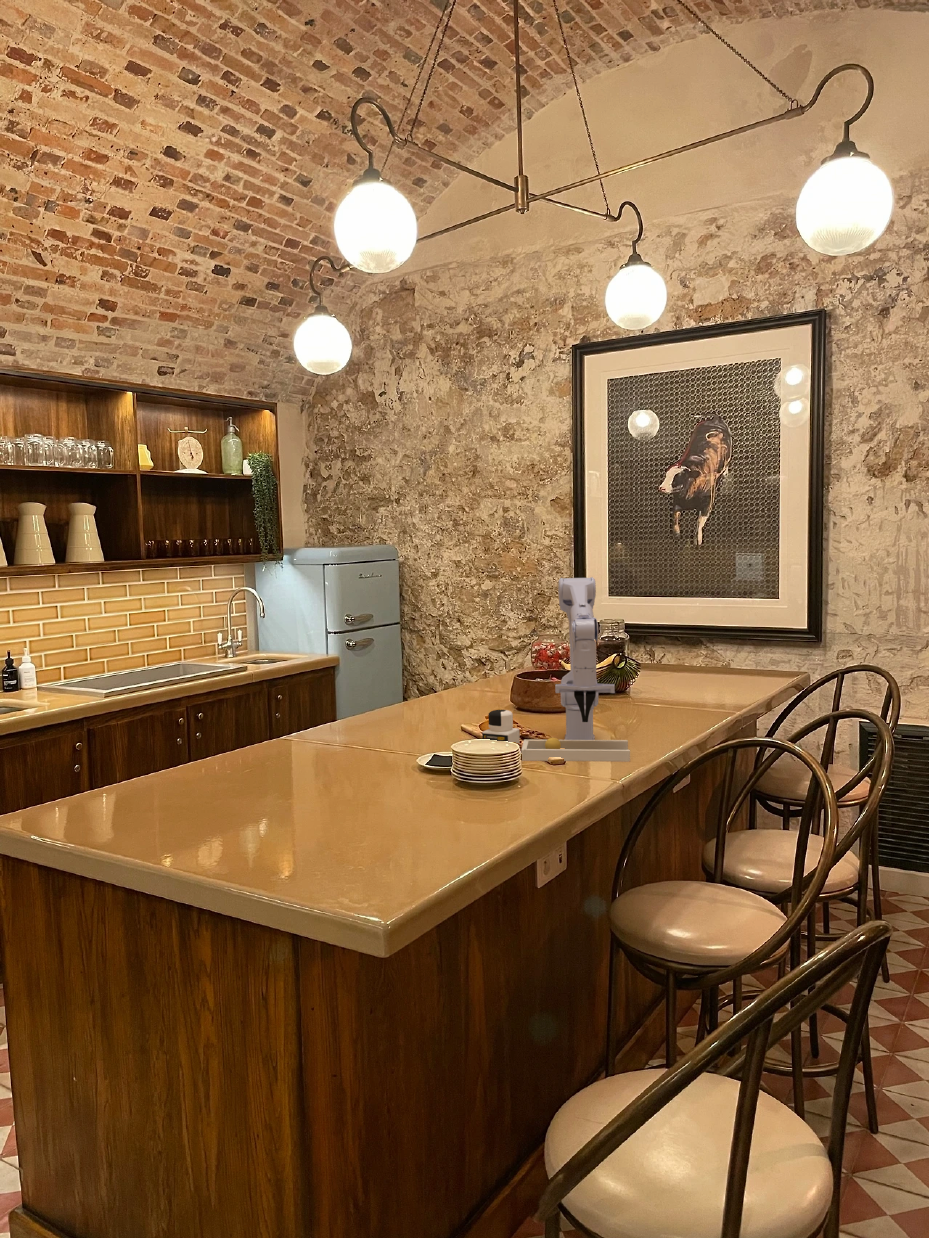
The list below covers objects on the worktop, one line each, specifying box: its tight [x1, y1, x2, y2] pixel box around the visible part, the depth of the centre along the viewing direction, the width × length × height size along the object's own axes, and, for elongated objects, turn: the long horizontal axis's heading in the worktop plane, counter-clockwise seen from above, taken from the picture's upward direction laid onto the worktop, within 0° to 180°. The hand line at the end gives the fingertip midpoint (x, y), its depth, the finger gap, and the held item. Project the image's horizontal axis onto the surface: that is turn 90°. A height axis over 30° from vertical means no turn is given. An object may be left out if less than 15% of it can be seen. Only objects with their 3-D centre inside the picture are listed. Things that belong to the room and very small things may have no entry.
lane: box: [520, 739, 631, 763], centre depth 237 cm, size 12×26×3 cm, turn 83°
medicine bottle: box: [481, 709, 520, 744], centre depth 237 cm, size 7×7×12 cm
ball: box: [545, 737, 561, 749], centre depth 239 cm, size 4×4×4 cm
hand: (585, 721), depth 236 cm, fingers closed
